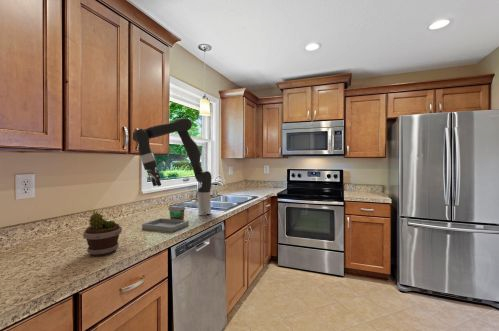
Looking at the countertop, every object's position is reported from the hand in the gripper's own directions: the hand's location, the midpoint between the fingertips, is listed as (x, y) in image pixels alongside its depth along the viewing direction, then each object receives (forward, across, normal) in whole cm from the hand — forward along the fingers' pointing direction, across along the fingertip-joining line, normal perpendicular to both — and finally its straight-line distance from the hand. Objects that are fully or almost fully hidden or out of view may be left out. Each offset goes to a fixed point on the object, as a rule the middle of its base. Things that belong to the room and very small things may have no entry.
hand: (157, 185), depth 151 cm
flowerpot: (+17, -27, +40) cm, 51 cm away
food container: (+28, +7, -5) cm, 29 cm away
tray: (+26, -4, +4) cm, 26 cm away
